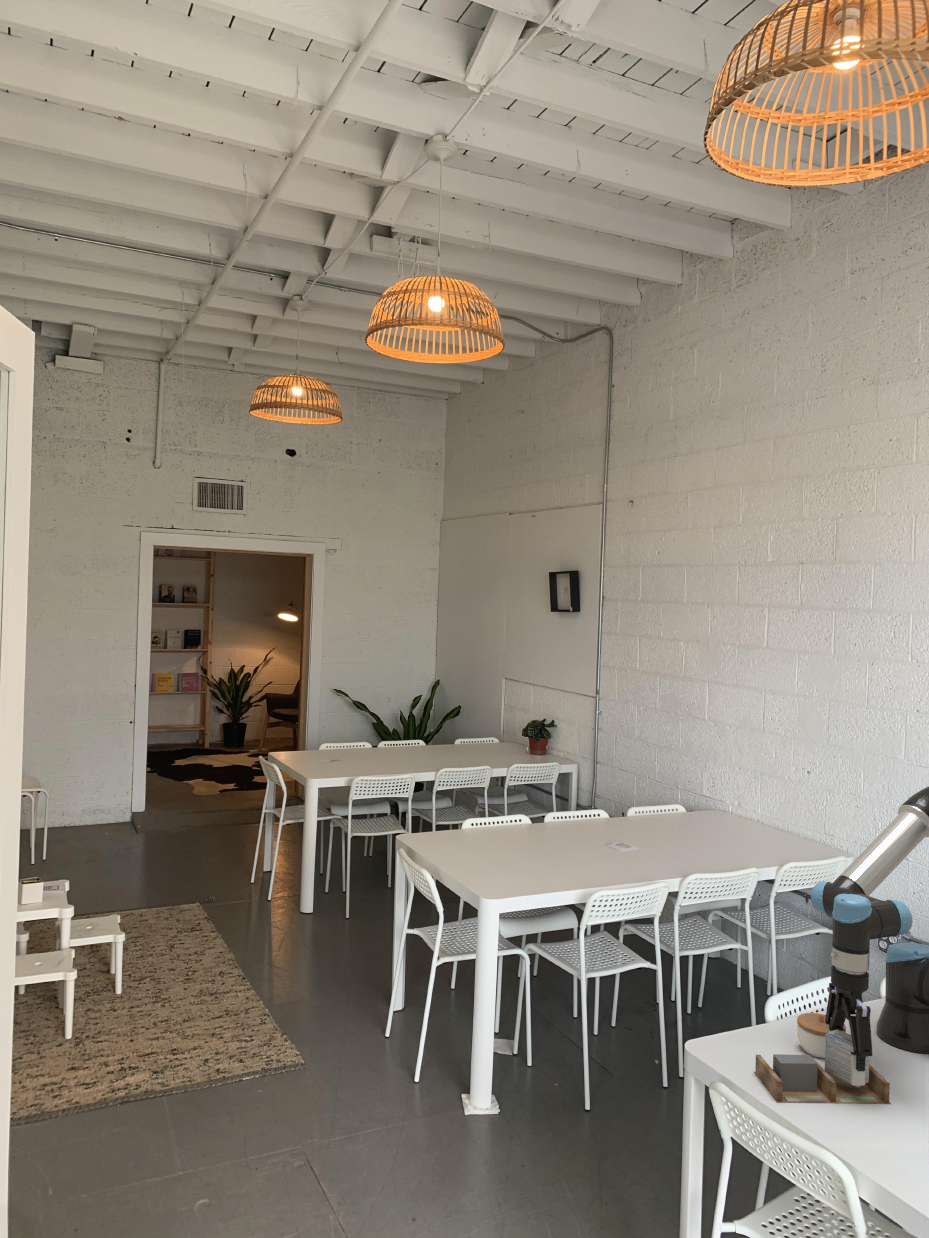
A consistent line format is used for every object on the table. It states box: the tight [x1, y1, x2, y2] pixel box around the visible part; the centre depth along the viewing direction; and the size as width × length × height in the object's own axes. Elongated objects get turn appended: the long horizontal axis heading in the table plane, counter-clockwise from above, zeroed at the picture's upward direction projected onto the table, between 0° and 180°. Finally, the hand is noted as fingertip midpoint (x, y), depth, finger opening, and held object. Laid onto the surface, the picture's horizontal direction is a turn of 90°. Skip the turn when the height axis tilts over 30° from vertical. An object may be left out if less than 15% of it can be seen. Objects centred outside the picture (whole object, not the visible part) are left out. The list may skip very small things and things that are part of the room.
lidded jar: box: [796, 1012, 847, 1059], centre depth 209 cm, size 11×11×9 cm
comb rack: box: [753, 1054, 892, 1105], centre depth 191 cm, size 13×24×5 cm, turn 93°
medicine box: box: [824, 1029, 870, 1087], centre depth 192 cm, size 8×4×9 cm, turn 34°
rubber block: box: [772, 1053, 818, 1092], centre depth 191 cm, size 8×4×6 cm, turn 93°
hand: (846, 1073), depth 191 cm, fingers closed on medicine box, 9 cm apart
